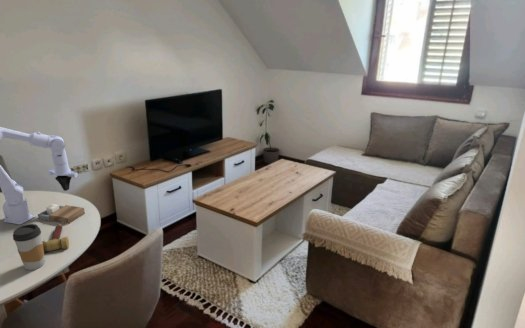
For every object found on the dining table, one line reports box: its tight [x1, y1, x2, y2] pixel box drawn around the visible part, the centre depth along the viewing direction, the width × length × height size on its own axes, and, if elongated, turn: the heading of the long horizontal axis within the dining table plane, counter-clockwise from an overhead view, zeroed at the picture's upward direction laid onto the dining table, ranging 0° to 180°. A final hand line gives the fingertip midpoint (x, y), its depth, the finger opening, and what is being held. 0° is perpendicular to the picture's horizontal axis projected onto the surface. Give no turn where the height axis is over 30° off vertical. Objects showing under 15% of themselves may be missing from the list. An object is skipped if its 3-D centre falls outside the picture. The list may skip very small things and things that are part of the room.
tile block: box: [45, 203, 60, 215], centre depth 161 cm, size 4×4×3 cm
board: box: [49, 204, 86, 225], centre depth 159 cm, size 10×10×3 cm
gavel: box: [42, 223, 70, 254], centre depth 142 cm, size 21×5×10 cm
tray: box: [37, 205, 65, 222], centre depth 161 cm, size 6×10×2 cm, turn 165°
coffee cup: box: [12, 223, 46, 271], centre depth 124 cm, size 8×8×15 cm
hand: (66, 189), depth 163 cm, fingers closed
